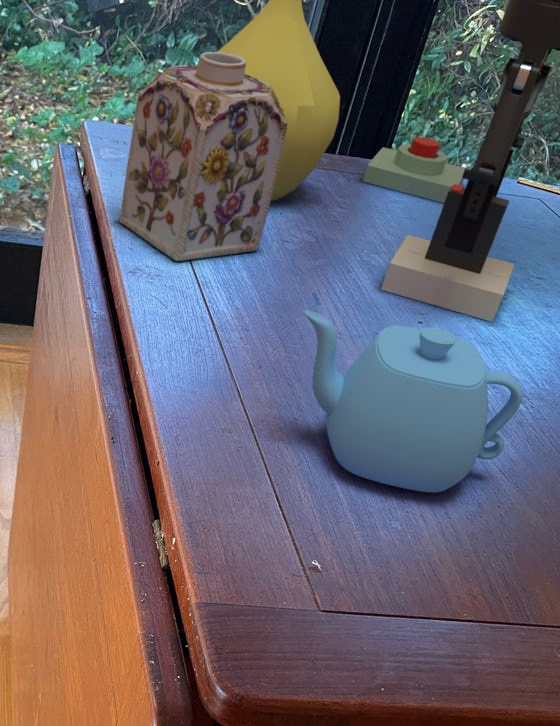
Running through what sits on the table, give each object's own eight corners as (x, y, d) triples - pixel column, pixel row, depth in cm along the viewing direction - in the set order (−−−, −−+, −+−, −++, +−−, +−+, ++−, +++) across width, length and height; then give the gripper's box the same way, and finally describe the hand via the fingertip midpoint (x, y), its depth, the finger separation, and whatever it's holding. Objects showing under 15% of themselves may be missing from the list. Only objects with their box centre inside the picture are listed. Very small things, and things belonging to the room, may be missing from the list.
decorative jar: (260, 253, 110) (305, 72, 98) (176, 264, 105) (212, 75, 93) (197, 212, 117) (231, 39, 105) (115, 221, 112) (141, 40, 100)
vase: (320, 180, 132) (395, -96, 111) (310, 227, 118) (393, -78, 98) (186, 152, 133) (236, -125, 113) (160, 195, 120) (212, -110, 100)
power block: (461, 185, 138) (472, 154, 135) (450, 205, 131) (461, 173, 128) (377, 163, 141) (386, 133, 138) (362, 181, 134) (371, 150, 131)
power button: (437, 155, 134) (442, 141, 133) (433, 161, 131) (437, 147, 130) (411, 148, 135) (415, 134, 134) (406, 155, 132) (410, 141, 131)
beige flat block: (503, 290, 111) (515, 262, 109) (492, 322, 104) (504, 293, 102) (398, 260, 114) (408, 232, 112) (380, 290, 107) (390, 261, 105)
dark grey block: (482, 267, 107) (510, 197, 102) (480, 273, 105) (508, 203, 100) (428, 251, 108) (452, 182, 103) (424, 258, 107) (449, 188, 102)
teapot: (311, 273, 80) (538, 322, 78) (277, 392, 87) (484, 440, 85) (297, 338, 70) (555, 396, 69) (261, 466, 78) (493, 521, 76)
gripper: (528, -32, 100) (451, 188, 114) (497, 2, 82) (411, 256, 97) (605, -17, 98) (517, 205, 112) (590, 21, 80) (488, 277, 95)
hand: (468, 229), depth 104 cm, fingers open, 13 cm apart
